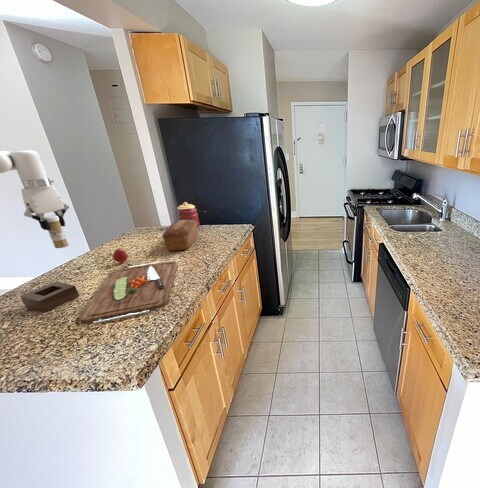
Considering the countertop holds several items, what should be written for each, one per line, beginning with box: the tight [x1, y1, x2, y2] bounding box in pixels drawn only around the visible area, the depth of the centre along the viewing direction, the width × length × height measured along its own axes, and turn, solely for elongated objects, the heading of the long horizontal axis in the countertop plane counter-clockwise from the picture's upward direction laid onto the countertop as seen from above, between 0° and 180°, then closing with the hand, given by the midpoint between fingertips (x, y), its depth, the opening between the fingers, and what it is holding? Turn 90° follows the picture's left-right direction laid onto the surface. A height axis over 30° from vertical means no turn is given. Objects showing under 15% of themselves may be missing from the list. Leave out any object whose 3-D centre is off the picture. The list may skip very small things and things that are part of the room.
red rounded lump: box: [112, 248, 129, 264], centre depth 130 cm, size 6×6×8 cm
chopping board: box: [78, 260, 178, 325], centre depth 109 cm, size 45×27×3 cm, turn 22°
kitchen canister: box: [176, 201, 201, 228], centre depth 183 cm, size 13×13×18 cm
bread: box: [162, 219, 199, 251], centre depth 154 cm, size 14×28×12 cm, turn 12°
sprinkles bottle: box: [44, 215, 70, 249], centre depth 110 cm, size 5×5×14 cm
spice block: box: [19, 281, 80, 313], centre depth 99 cm, size 11×11×5 cm
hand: (54, 227), depth 109 cm, fingers closed on sprinkles bottle, 4 cm apart
